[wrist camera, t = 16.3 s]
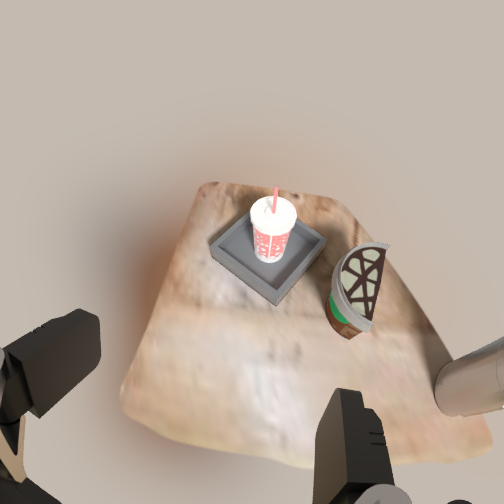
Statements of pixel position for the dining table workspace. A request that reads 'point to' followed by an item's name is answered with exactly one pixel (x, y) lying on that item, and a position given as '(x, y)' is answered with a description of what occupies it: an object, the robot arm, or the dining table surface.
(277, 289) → the tray
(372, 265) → the food container
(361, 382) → the dining table surface
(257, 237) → the beverage cup
